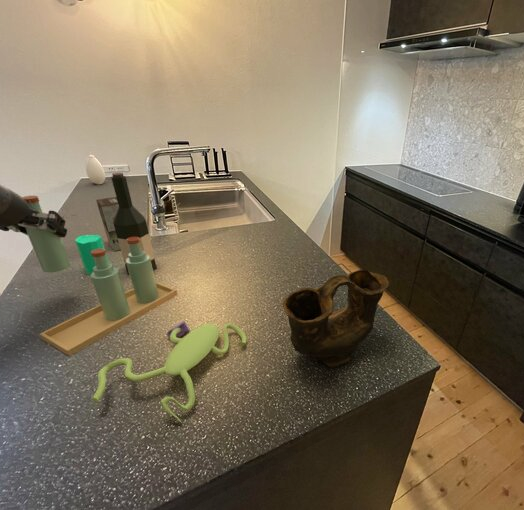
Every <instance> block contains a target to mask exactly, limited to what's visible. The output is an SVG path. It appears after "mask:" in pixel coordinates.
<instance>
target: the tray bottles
mask: <svg viewBox="0 0 524 510" xmlns="http://www.w3.org/2000/svg"><path fill="white" fill-rule="evenodd" d="M139 242H140V240H139V237H130V238H127V243H128V244H129V247H130V251H131V253H129V254H128V257H129V258H127V259H126V264H127V268H128V271H129V275H128V276H129V279H130V283H131V285H132V289H134V293H135V297H136V300H137V302H138V303H142V304H145V303H150V302H153V301H155V300H156V299H158V297H159V294H158V290H157V285H156V282H157V281H156V277H155V273H154V271H153V268H152V264H151V260H150V256H148V255H146V254H145V252H144V251H141V248H140V244H139ZM90 253H91V256H92V257H93V258H94V261H95V264H96V266H95V267H94V268H93V271H94V272H92V273H91V274H90V278H91V281H92V284H93V287H94V291H95V293H96V296H97V299H98V302H99V305H101V308H102V311H103V313H104V316H105V319H107V320H109V321H115V320H119V319H122V318H124V317H126V316H127V315H128V314H129V313H130V308H129V305H128V302H127V298H126V295H125V292H126V291H125V288H124V285H123V281H122V278H121V275H120V272H119V269H118V268H117V267H114V266H113V264H112V263H110V262H109V263H108V262H107V259H106V255H107V252H106V249H102V248H100V249H94V250H92V251H91V252H90ZM105 254H106V255H105Z"/></svg>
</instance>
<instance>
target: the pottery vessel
mask: <svg viewBox="0 0 524 510" xmlns="http://www.w3.org/2000/svg"><path fill="white" fill-rule="evenodd" d="M389 284H390V282H389V280H388V278H387V276H385V275H383V274H379V273H378V272H372V271H369V270H365V269H358V270H355V271H352V272H349V273H347V274H337V275H333V276H331V277H330V278H328V279H327V280H326V282H324V284H322V285H321V286H319V287H318V288H317V287H304V288H299V289H296V290H295V291H293V292H291V293H289V294H288V296H287V297H286V298H284V300H282V303H281V304H282V306H283V311H284V313H285V314H286V315H287V317H288V323H289V327H290V336H289V340H290V342H291V345H292V347H293V349H294V351H296V352H297V353H299V354H301V355H304V356H309V357H312V359H313V360H314V362H319V361H322V362H324V365H326V366H328V367H329V368H332V369H334V368H336V367H340V366H343V365H345V364H348V363H349V362H350V360H351V358H352V357H353V355H354V353H355V352H356V351H357V350H358V349H360V347H359V344H361V343H363V342H364V341H365V340H366V339H368V338H367V337H368V336H369V335H370V333H372V331H373V329H374V324H375V317H376V313H377V310H378V304H379V303H380V301H381V299H382V297H383V295H384V292H385V290H387V288H388V287H389V286H390V285H389ZM343 286H347V297H346V298H347V299H346V301H347V303H348V304H347V305H346V306H344V307H342V308H341V309H340V308H339V310H336V311H335V303H334V297H335V295H336V294H337V292H338V288H340V287H343Z"/></svg>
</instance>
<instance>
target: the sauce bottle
mask: <svg viewBox="0 0 524 510" xmlns="http://www.w3.org/2000/svg"><path fill="white" fill-rule="evenodd" d="M85 172H86V175H87V177H88V178H89V180H90V181H91V182H92V183H94V184H95V185H101V184H103V183H104V182H105V180H106V171H105V169H104V166H103V165H102V164H101V162H100V161H99V160H98V159H97V157H95V155H92V152H91V150H89V154H88V158H87V159H86V163H85Z"/></svg>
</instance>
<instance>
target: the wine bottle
mask: <svg viewBox="0 0 524 510" xmlns="http://www.w3.org/2000/svg"><path fill="white" fill-rule="evenodd" d="M111 175H112V176H111V177H110V178H111V183H112V186H113V189H114V194H115V197H117V201H118V205H119V208H118V210H117V212H116V215H115V217H114V219H113V224H114V228H115V231H116V235H117V238H118V242H119V245H120V249H121V250H120V252H121V256H122V259H123V263H124V266H125V271H126V274H127V276H130V275H129V271H128V268H127V264H126V259H127V258H129V257H128V254H129V253H131V251H130V247H129V244H128V243H127V238H130V237H139V240H140V242H139V244H140V248H141V251H144V252H145V254H146V255H148V256H150V260H151V264H152V268H153V272H155V271H156V270H157V269H158V267H157V263H156V258H155V254H154V250H153V246H152V240H151V237H150V233H149V227H148V224H147V219H146V217H145V216H144V215H143V214H142V213H141V212H140V211H139V210H138V209H137V208H136V207H134V205H133V202H132V198H131V192H130V189H129V185H128V182H127V177H126V175H124V173H123V172H114V173H112V174H111Z"/></svg>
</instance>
